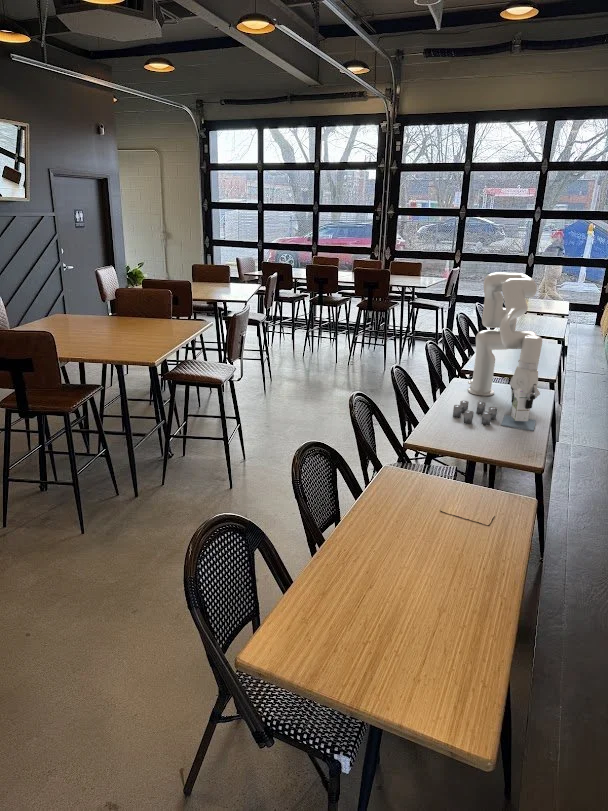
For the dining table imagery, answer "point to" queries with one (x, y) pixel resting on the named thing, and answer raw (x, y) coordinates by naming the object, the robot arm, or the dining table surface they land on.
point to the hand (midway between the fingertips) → (521, 405)
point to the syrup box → (520, 406)
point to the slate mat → (518, 423)
